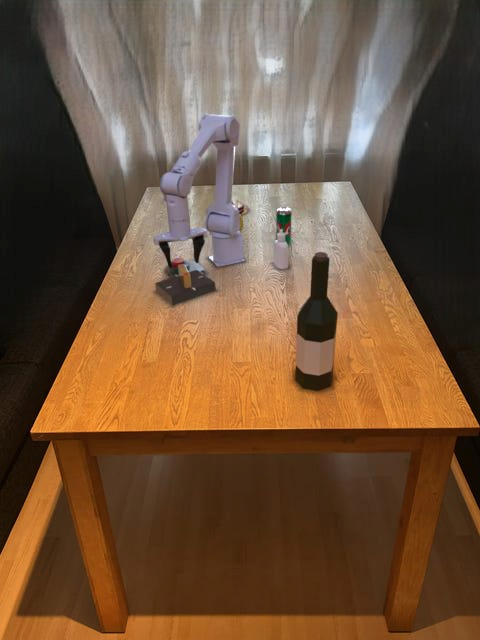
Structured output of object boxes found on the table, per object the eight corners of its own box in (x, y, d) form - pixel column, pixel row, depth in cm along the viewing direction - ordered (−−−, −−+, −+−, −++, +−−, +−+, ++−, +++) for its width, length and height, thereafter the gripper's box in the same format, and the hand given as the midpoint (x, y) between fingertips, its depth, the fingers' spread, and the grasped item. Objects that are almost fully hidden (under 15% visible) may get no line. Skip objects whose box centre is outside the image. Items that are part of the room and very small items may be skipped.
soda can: (291, 240, 181) (291, 206, 175) (290, 246, 177) (291, 212, 171) (276, 240, 182) (276, 206, 175) (275, 246, 177) (275, 211, 171)
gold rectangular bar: (178, 277, 153) (177, 263, 151) (184, 276, 154) (183, 262, 152) (185, 288, 147) (183, 275, 145) (191, 287, 148) (190, 273, 146)
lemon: (242, 237, 184) (241, 215, 180) (226, 236, 186) (225, 214, 181) (245, 231, 189) (244, 209, 185) (230, 230, 190) (229, 209, 186)
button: (181, 262, 163) (181, 256, 162) (185, 266, 160) (185, 261, 159) (170, 264, 162) (170, 259, 161) (174, 269, 159) (173, 263, 158)
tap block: (196, 277, 160) (195, 267, 158) (217, 292, 151) (216, 282, 150) (154, 290, 153) (153, 281, 151) (174, 307, 145) (172, 297, 143)
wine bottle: (292, 368, 120) (295, 247, 104) (328, 366, 120) (337, 244, 104) (298, 392, 113) (303, 265, 97) (336, 389, 113) (348, 262, 97)
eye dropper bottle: (287, 261, 167) (288, 226, 161) (288, 269, 162) (289, 233, 156) (273, 262, 167) (273, 226, 161) (274, 270, 162) (274, 233, 156)
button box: (195, 263, 168) (195, 255, 166) (205, 273, 162) (204, 264, 160) (165, 270, 164) (164, 261, 163) (173, 281, 158) (172, 272, 156)
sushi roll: (244, 217, 200) (244, 207, 198) (206, 217, 202) (205, 206, 200) (249, 204, 213) (249, 194, 210) (212, 203, 215) (212, 193, 212)
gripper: (155, 227, 136) (160, 274, 143) (209, 219, 139) (212, 265, 147) (149, 218, 141) (155, 264, 148) (201, 210, 145) (205, 255, 152)
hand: (183, 264), depth 148 cm, fingers open, 7 cm apart
